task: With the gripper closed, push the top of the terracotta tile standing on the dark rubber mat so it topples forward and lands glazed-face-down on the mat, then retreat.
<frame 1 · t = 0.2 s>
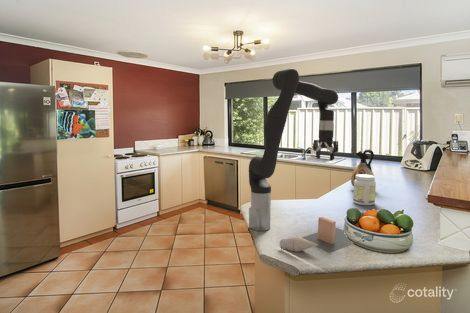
hand: (324, 159, 158), 29 cm above the counter, fingers open, 8 cm apart
supplement tub: (363, 203, 178), on the counter
tile: (326, 240, 120), point 1 cm above the counter, touching mat
ice cream cone: (298, 252, 112), on the counter
ceramic jug: (363, 191, 208), on the counter
mat: (332, 239, 123), on the counter
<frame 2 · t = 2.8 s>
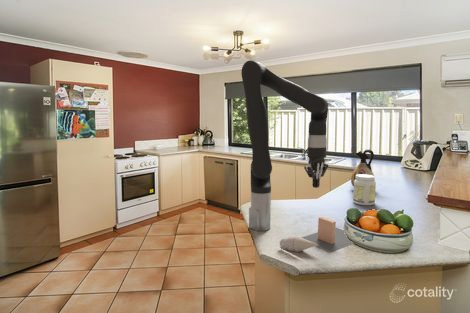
hand: (316, 187, 122), 22 cm above the counter, fingers closed
nothing on the counter moved.
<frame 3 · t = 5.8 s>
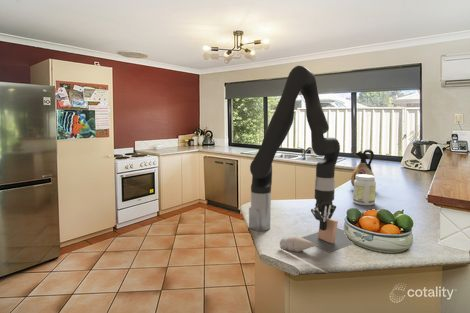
hand: (323, 229, 118), 6 cm above the counter, fingers closed
tile: (326, 240, 120), point 1 cm above the counter, tilted 9°, touching mat
everything else where it was.
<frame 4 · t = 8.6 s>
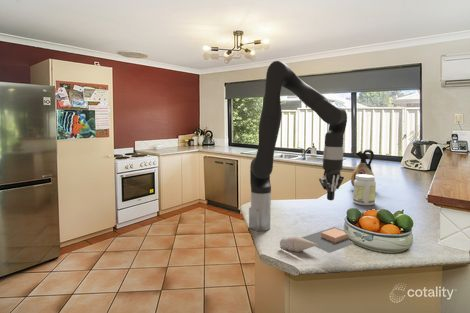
hand: (330, 199, 119), 18 cm above the counter, fingers closed
tile: (327, 237, 121), point 2 cm above the counter, tilted 90°, touching mat
everything else where it was.
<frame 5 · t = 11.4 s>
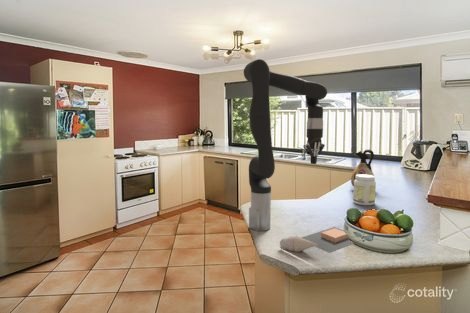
hand: (313, 163, 141), 29 cm above the counter, fingers closed
nothing on the counter moved.
at the end: tile tilted 90°; tile inside the target area (3.4 cm from its centre), point 1.7 cm above the counter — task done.
